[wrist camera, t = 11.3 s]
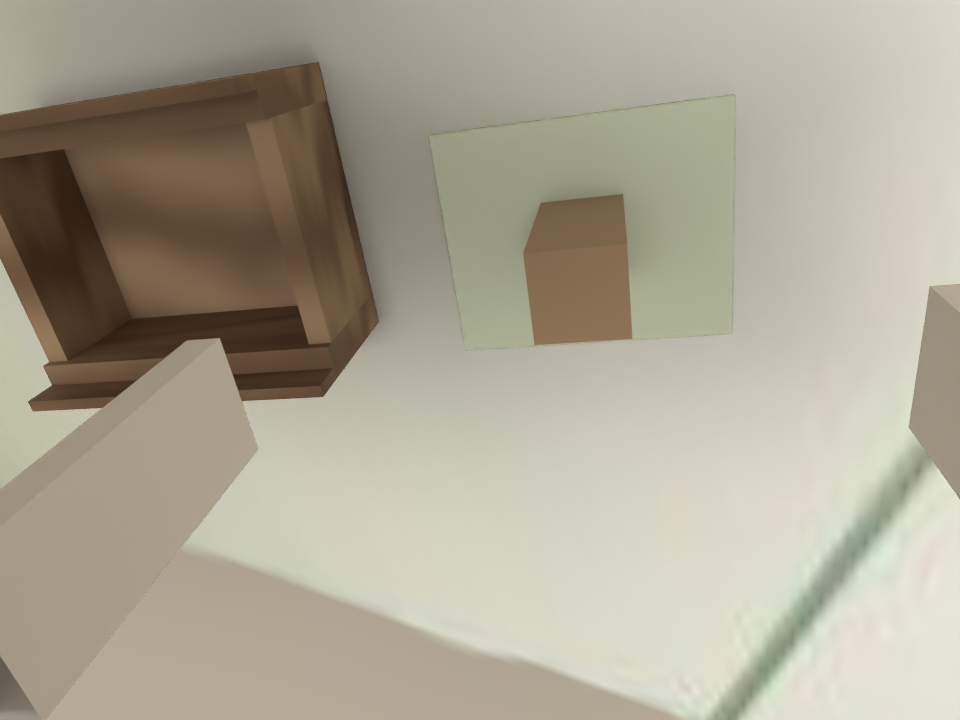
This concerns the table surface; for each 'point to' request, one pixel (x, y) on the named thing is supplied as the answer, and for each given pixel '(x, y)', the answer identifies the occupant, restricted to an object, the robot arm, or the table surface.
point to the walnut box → (185, 235)
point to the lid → (592, 225)
